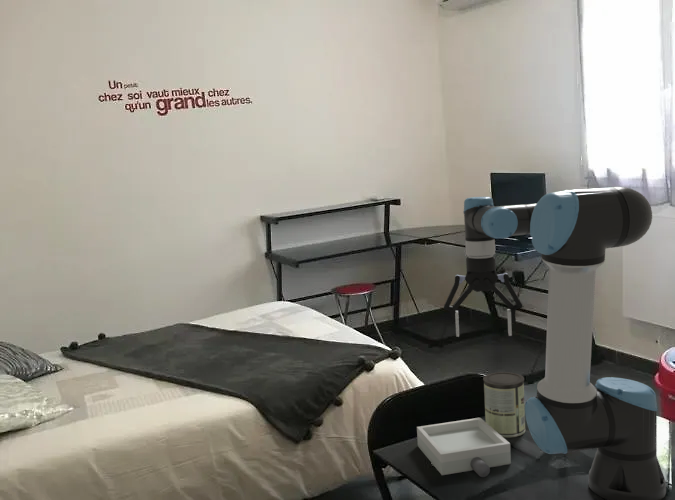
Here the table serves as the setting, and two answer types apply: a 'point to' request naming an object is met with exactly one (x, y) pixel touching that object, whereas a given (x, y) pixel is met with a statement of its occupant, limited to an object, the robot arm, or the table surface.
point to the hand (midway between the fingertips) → (483, 335)
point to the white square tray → (463, 446)
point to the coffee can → (505, 403)
